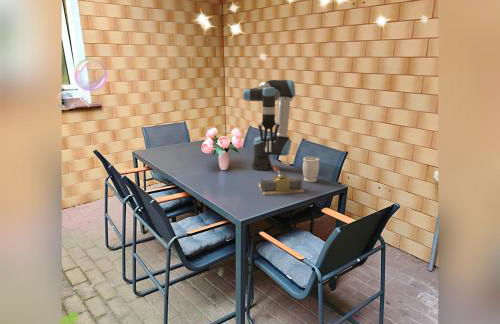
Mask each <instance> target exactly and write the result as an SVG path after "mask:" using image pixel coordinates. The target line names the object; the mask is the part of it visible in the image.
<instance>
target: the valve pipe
mask: <svg viewBox="0 0 500 324" xmlns="http://www.w3.org/2000/svg"><path fill="white" fill-rule="evenodd" d="M260 183H261V190H262V191H263V192H265V191H271V190H276V192H279V191H289V189H303V187H302V184H303V180H302V178H300V177H299V176H297V177H296V178H289V177H288V176H287V175H285V174H284V178H279V177H278V175H273V176H272V179H270V180H269V179H268V180H264V179H263V178H261V179H260ZM261 190H260V191H261ZM262 191H261V192H262Z"/></svg>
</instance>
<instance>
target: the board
mask: <svg viewBox="0 0 500 324" xmlns="http://www.w3.org/2000/svg"><path fill="white" fill-rule="evenodd" d="M257 186H258V188H259V189H260V191H261V193H262V195H263V196H268V195H270V196H271V195H282V194H283V195H284V194H296V193H298V194H300V193H305V189H303V188H302V189H289V191H279V192H276V190H271V191H265V192H263V191H262V190H261V182H257Z"/></svg>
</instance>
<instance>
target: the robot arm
mask: <svg viewBox="0 0 500 324" xmlns="http://www.w3.org/2000/svg"><path fill="white" fill-rule="evenodd" d="M242 96H243V100H244V101H247V102H262V116H261V117H262V121H261V123H260V124H257V128H259V136H257V137H254V139H253V158H252V161H251V165H250V166H251V168H250V169H252V170H255V171H268V170H271V169H273V165H272V161H271V159H270V158H271V157H270V156H283V157H285V156H288V155H289V154H290V151H291V147H292V140H291V139H290V136H289V134H288V131H289V130H288V129H289V119H290V108H291V107H290V106H291V102H292V101H293V98H295V97H296V86H295V81H293V80H291V79H289V80H288V79H270V80H267V81H266V80H265V81H263V82H261V83H260V84H259V85H258V86H255V87H253V88H245V89H244V90H243V92H242ZM276 102H277V114H275V113H276ZM274 127H275V128H274ZM263 129H264V132H263ZM268 131H269V135H268Z"/></svg>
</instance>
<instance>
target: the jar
mask: <svg viewBox="0 0 500 324" xmlns="http://www.w3.org/2000/svg"><path fill="white" fill-rule="evenodd" d="M302 160H303V163H302V173H303V174H302V175H303V177H304V178H303V181H304V182H307V183H315V182H317V179H318V178H317V177H318V175H319V170H320V163H319V162H320V157H317V156H304V157H303V158H302Z"/></svg>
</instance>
